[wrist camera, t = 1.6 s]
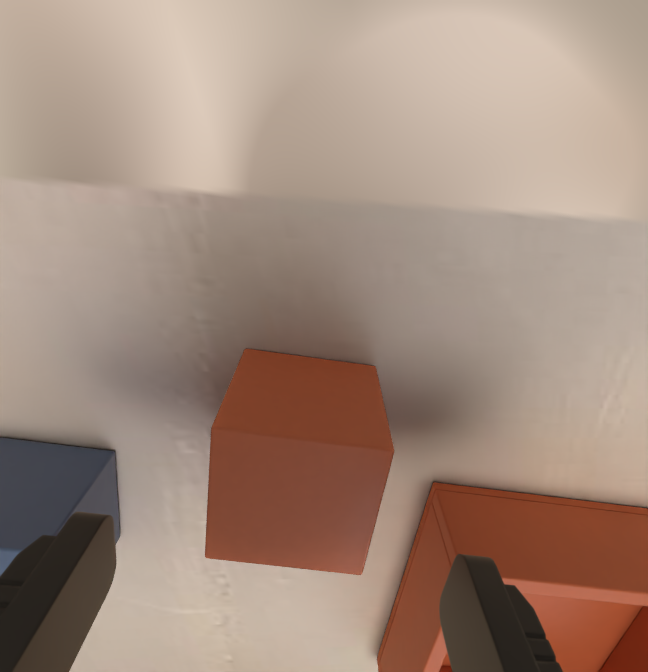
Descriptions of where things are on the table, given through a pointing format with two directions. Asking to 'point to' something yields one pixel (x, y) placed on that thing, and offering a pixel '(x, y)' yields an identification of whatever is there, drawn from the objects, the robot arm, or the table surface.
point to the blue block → (50, 490)
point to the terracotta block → (297, 463)
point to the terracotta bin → (530, 576)
